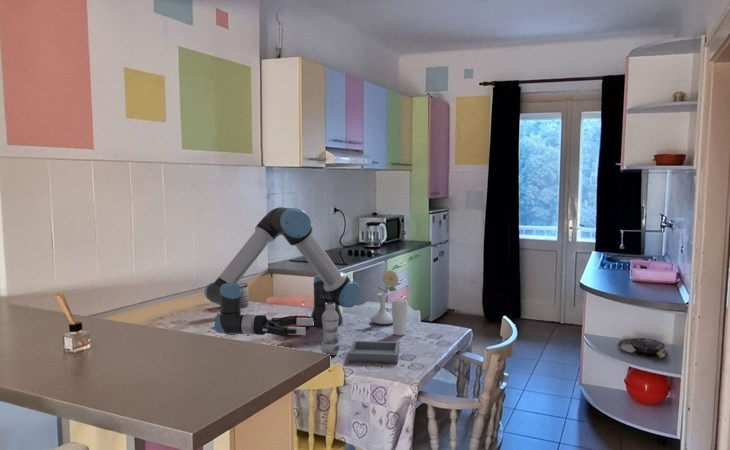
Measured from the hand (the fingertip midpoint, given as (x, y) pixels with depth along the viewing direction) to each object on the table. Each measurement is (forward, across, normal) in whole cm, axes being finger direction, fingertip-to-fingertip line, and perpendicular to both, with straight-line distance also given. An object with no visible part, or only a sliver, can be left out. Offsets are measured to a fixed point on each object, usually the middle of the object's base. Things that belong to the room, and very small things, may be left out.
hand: (309, 326), depth 214 cm
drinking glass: (+33, -32, -11) cm, 47 cm away
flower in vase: (+25, -50, -11) cm, 57 cm away
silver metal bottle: (+8, 0, -11) cm, 14 cm away
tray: (+25, 0, -11) cm, 27 cm away
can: (-55, -76, -11) cm, 95 cm away
